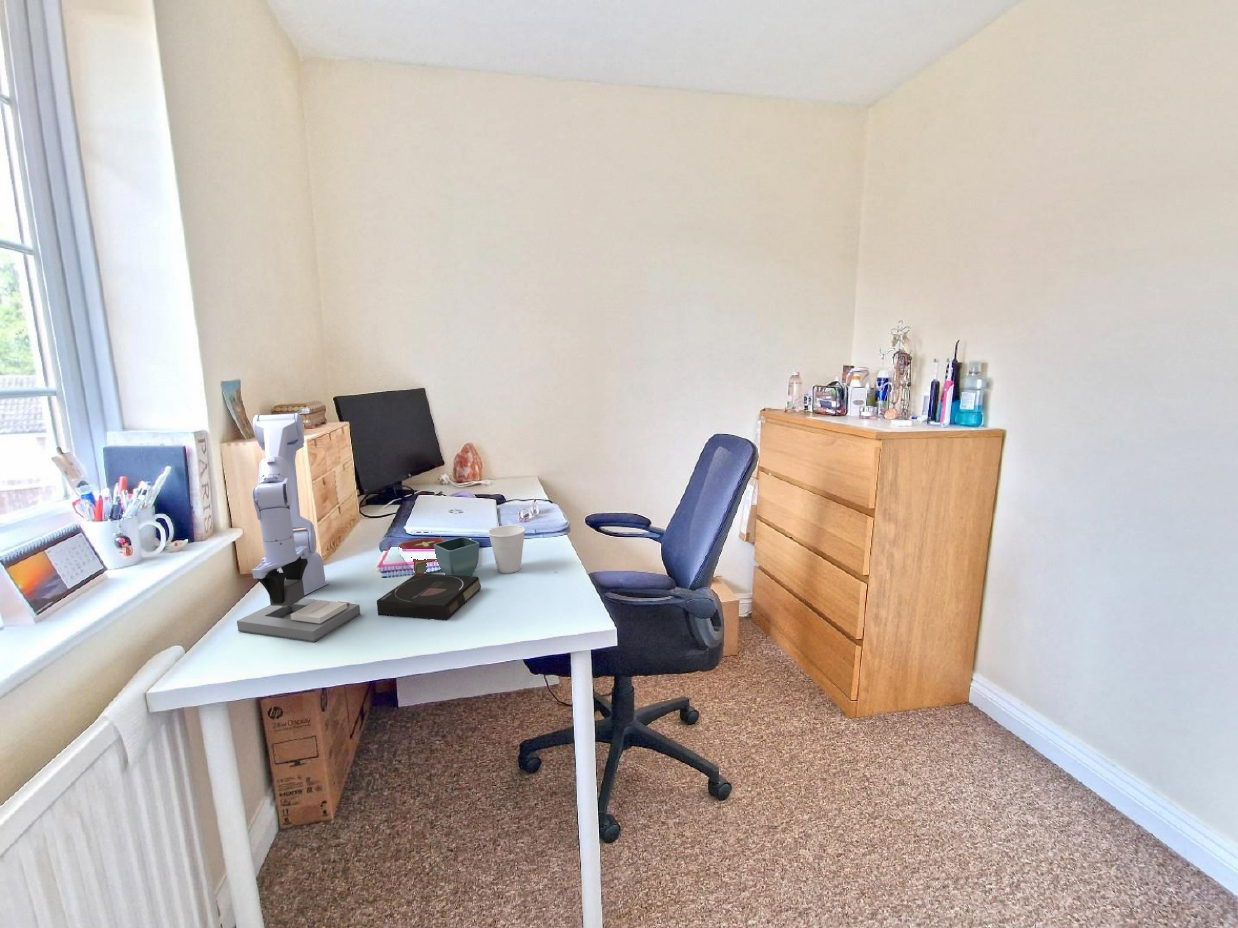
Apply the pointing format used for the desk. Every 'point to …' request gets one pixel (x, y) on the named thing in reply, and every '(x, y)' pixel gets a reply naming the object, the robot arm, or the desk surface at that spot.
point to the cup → (507, 547)
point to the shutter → (318, 611)
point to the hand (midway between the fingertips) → (286, 597)
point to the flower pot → (457, 556)
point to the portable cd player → (429, 596)
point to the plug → (291, 593)
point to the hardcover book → (421, 544)
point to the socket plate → (294, 622)
